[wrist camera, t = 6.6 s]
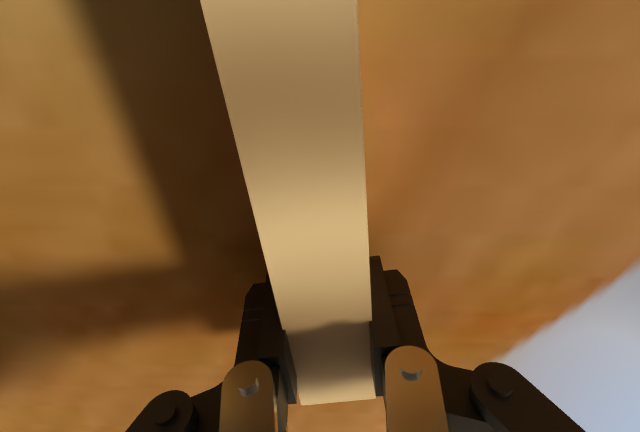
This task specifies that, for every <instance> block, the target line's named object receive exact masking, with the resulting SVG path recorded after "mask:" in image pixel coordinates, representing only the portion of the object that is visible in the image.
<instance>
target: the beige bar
mask: <svg viewBox="0 0 640 432" xmlns="http://www.w3.org/2000/svg"><path fill="white" fill-rule="evenodd" d="M200 2H201V6H202V10H203V14H204V18H205V22H206V26H207V30H208V34H209V38H210V42H211V46H212V50H213V54H214V58H215V62H216V66H217V70H218V74H219V78H220V82H221V86H222V90H223V94H224V98H225V102H226V106H227V110H228V114H229V118H230V122H231V126H232V130H233V134H234V138H235V142H236V146H237V150H238V154H239V158H240V162H241V166H242V170H243V174H244V178H245V182H246V186H247V190H248V194H249V198H250V202H251V206H252V210H253V214H254V218H255V222H256V226H257V230H258V234H259V238H260V242H261V246H262V250H263V254H264V258H265V262H266V266H267V270H268V274H269V278H270V282H271V286H272V290H273V294H274V298H275V302H276V306H277V310H278V313H279V317H280V321H281V325H282V329H283V330H286V334H287V338H288V342H289V346H290V350H291V354H292V358H293V363H294V367H295V371H296V375H297V389H298V393H299V397H300V401H301V405H311V404H322V403H333V402H344V401H354V400H365V399H376V395H375V389H374V383H373V376H372V369H371V351H370V332H369V321H372V308H371V287H370V266H369V245H368V223H367V202H366V181H365V159H364V138H363V117H362V95H361V74H360V53H359V32H358V10H357V0H200Z"/></svg>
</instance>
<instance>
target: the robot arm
mask: <svg viewBox="0 0 640 432" xmlns="http://www.w3.org/2000/svg"><path fill="white" fill-rule="evenodd" d="M369 266H370V287H371V308H372V321H369V332H370V351H371V369H372V376H373V383H374V389H375V395H376V396H383V398H384V404H385V409H386V429H387V432H585V431H584V430H583V429H582V428H581V427H580V426H579V425H577V424H576V423H575V422H574V421H573V420H572V419H571V418H570V417H569V416H567V415H566V414H565V413H564V412H563V411H562V410H561V409H559V408H558V407H557V406H556V405H555V404H554V403H553V402H552V401H550V400H549V399H548V398H547V397H546V396H545V395H544V394H542V393H541V392H540V391H539V390H538V389H537V388H536V387H535V386H533V385H532V384H531V383H530V382H529V381H528V380H527V379H526V378H524V377H523V376H522V375H521V374H520V373H519V372H517V371H516V370H515V369H513V368H512V367H510V366H507V365H505V364H502V363H497V362H488V363H484V364H481V365H479V366H478V367H477V368H475V370H474V371H471V370H467V369H462V368H457V367H453V366H449V365H447V364H444V363H443V362H441V361H439V360H438V359H436V358H435V357H434V356H433V355H432V354H431V353H430V351H429V350H428V348H427V346H426V343H425V340H424V337H423V333H422V330H421V327H420V323H419V320H418V316H417V313H416V310H415V306H414V303H413V300H412V296H411V294H410V289H409V286H408V283H407V280H406V279H405V278H404V277H403V275H402V274H401V273H400V272H399V271H398V270H387V271H383V268H382V264H381V259H380V256H371V257H369ZM296 403H297V375H296V371H295V367H294V363H293V358H292V354H291V350H290V346H289V342H288V338H287V334H286V330H283V329H282V325H281V321H280V317H279V313H278V310H277V306H276V302H275V298H274V294H273V290H272V286H271V282H270V278H269V274H268V270H267V276H266V283H257V284H253V286H252V287H251V289H250V290H249V292H248V293H247V295H246V297H245V303H244V312H243V316H242V322H241V328H240V334H239V341H238V347H237V353H236V359H235V364H234V367H233V368H232V369H231V370H230V371H229V372H228V373H227V375H226V376H225V378H224V380H223V382H222V383H220V384H219V385H217V386H216V387H214V388H212V389H210V390H207V391H205V392H202V393H200V394H198V395H195V396H193V397H190V396H189V395H188V394H187V393H185V392H183V391H179V390H172V391H167V392H164V393H162V394H160V395H158V396H157V397H155V398H154V399H153V400H152V401H150V402H149V404H148V405H147V406H146V407H145V408H144V409H143V411H142V412H141V413H140V414H139V415H138V417H137V418H136V419H135V420H134V422H133V423H132V424H131V425H130V427H129V428H128V429H127V430H126V431H125V432H288V427H287V414H288V404H296Z"/></svg>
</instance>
